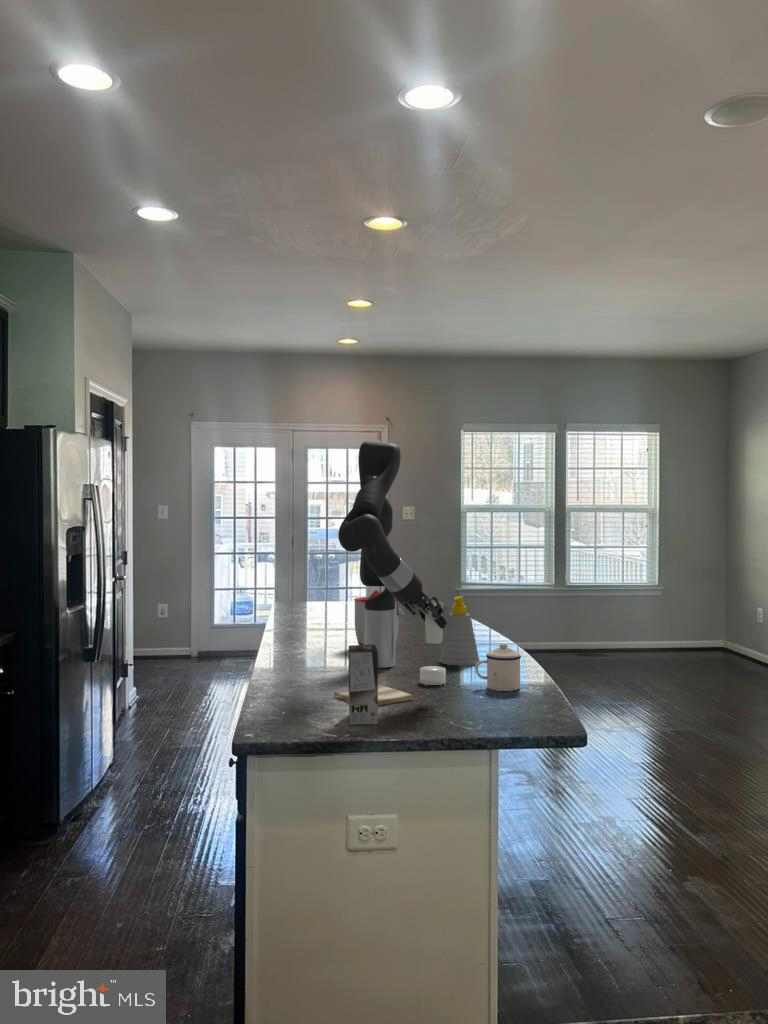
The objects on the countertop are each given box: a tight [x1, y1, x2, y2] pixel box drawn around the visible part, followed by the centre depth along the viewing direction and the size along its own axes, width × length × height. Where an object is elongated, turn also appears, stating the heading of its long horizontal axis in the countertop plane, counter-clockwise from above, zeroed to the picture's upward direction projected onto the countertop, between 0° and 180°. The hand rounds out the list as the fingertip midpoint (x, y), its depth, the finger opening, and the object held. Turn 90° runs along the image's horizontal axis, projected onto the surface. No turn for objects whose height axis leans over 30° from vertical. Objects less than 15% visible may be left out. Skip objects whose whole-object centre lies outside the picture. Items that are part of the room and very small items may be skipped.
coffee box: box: [348, 644, 379, 726], centre depth 173 cm, size 9×6×16 cm
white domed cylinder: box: [419, 665, 447, 686], centre depth 210 cm, size 7×7×4 cm
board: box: [334, 684, 414, 707], centre depth 193 cm, size 14×14×1 cm
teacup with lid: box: [474, 643, 522, 692], centre depth 204 cm, size 12×9×12 cm
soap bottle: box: [439, 596, 481, 667], centre depth 239 cm, size 12×12×20 cm
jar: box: [424, 601, 444, 645], centre depth 195 cm, size 5×5×10 cm
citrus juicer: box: [353, 589, 405, 645], centre depth 265 cm, size 16×17×20 cm
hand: (438, 624), depth 196 cm, fingers closed on jar, 4 cm apart
